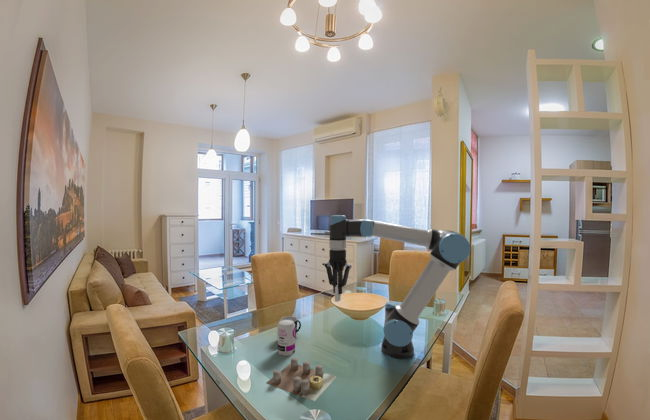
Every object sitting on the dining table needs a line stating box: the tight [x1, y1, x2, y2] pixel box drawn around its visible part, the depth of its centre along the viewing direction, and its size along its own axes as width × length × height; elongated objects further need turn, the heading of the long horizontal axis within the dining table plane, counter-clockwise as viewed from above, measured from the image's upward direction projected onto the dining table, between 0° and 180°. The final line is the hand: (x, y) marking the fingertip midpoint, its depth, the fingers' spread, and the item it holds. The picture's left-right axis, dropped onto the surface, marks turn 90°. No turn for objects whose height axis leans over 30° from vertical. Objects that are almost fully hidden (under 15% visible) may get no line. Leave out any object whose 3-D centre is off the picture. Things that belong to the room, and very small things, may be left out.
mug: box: [279, 315, 302, 338], centre depth 154 cm, size 12×9×10 cm
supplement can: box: [277, 319, 296, 357], centre depth 137 cm, size 8×8×15 cm
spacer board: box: [266, 357, 337, 402], centre depth 115 cm, size 22×17×5 cm
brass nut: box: [309, 376, 323, 390], centre depth 111 cm, size 4×5×3 cm
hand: (337, 300), depth 133 cm, fingers closed
